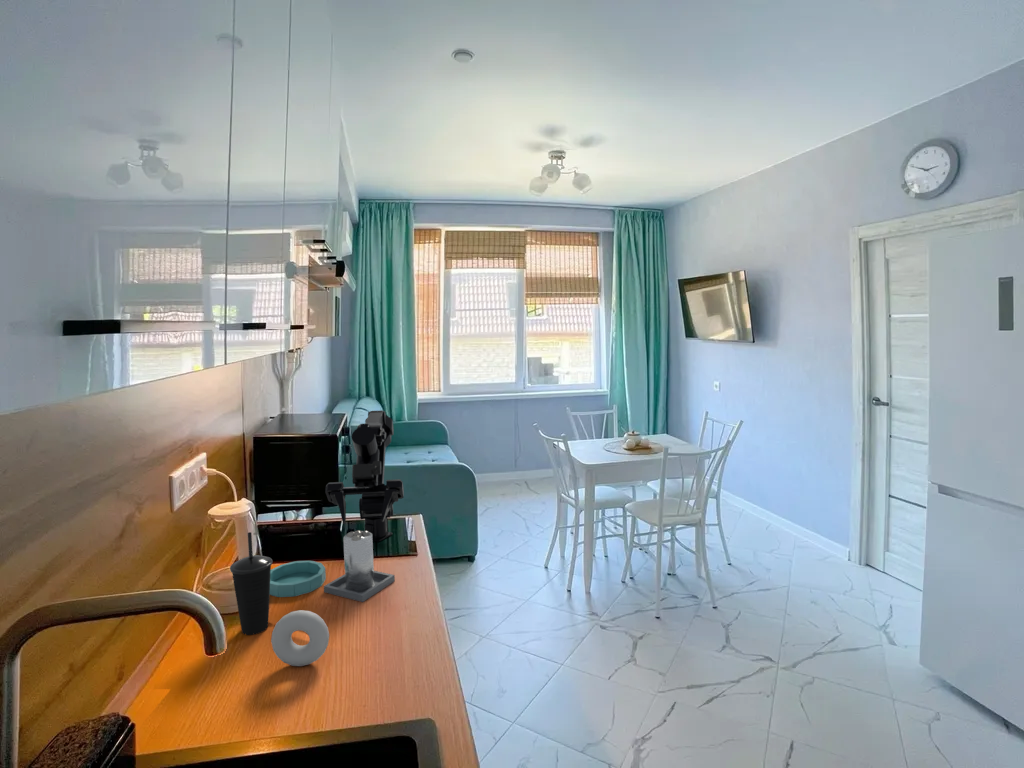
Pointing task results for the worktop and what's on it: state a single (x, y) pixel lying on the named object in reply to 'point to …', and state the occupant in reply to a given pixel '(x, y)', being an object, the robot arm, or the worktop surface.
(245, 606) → the drinking cup
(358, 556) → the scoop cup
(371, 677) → the worktop surface
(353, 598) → the parts tray
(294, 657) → the donut
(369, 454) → the robot arm
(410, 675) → the worktop surface
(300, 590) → the bowl
